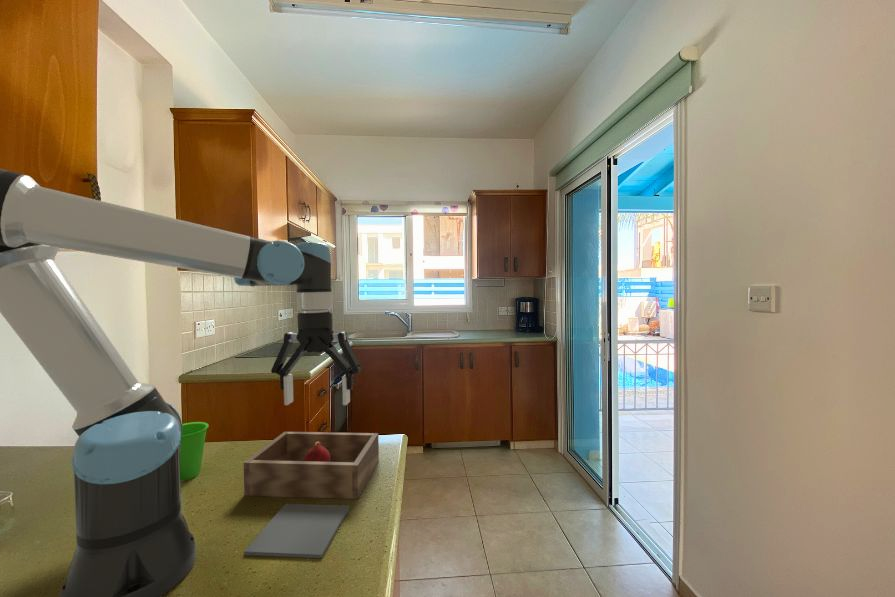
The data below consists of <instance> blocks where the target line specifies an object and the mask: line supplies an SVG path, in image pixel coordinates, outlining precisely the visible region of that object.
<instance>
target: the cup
mask: <svg viewBox="0 0 895 597" xmlns="http://www.w3.org/2000/svg"><path fill="white" fill-rule="evenodd" d="M209 427H210V426H209V424H208V422H203V421H192V422H187V423H182V435H181V443H180V482H184V481H188V480H192V479H194V478H195V477H197V476H198V475H199V474H200V472H201V468H202V460H203V454H204V448H205V442H206V436H207V435H206V434H207V429H208V428H209Z"/></svg>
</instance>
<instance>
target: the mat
mask: <svg viewBox="0 0 895 597" xmlns="http://www.w3.org/2000/svg"><path fill="white" fill-rule="evenodd" d="M349 510H350V505H341V504H340V505H337V504H335V505H334V504H308V503H307V504H305V503H285V504H284V505H283V506H282V507H281V508H280V509H279V510H278V511H277V513H275V515H274V516H273V517H272V518H271V520H270V521H269V522H268V523H267V524H266V525H265V526H264V528H263V529H262V530H261V531H260V532H259V533H258V535H257V536H256V537H255V538H254V539H253V540H252V541H251V543H250V544H249V545H248V546H247V547H246V549H245V550H244V551H243V555H244V556H257V557H259V556H260V557H278V558H279V557H282V558H284V557H285V558H286V557H287V558H305V559H306V558H310V559H322V558H323V557H324V555H325V554H326V552H327V550H328V548H329V546H330V545H331V543H332V541H333V539H334V537H335V535H336V534H337V532H338V530H339V528H340V526H341V524H342V523H343V521H344V519H345V518H346V516H347V514H348V513H349Z"/></svg>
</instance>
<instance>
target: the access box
mask: <svg viewBox="0 0 895 597" xmlns="http://www.w3.org/2000/svg"><path fill="white" fill-rule="evenodd" d="M316 442H320V443H321V444H320V445H321V446H323V447H325V448H326V449H327V450H328V451H329V453H330V459H331V461H330V462H315V461H304V458H305V455H306V454H307V452H308V451H309V450H310V449H311V448H312V447H314V445H315V443H316ZM379 448H380V447H379V433H378V432H375V433H374V432H371V433H370V432H327V431H326V432H321V431H317V432H316V431H283V432H282V433H281V434H279V435H278V436H277V437H275V438H274V439H272V441H271V442H269V443H268V444H266V445H265V446H263V447H262V448H261V449H259V450H258V451H257V452H255V453H254V454H253V455H252V456H250V457H249V458H248V459H247V460H245V461H244V462H243V492H244V494H243V495H244V496H248V497H250V496H251V497H279V498H280V497H281V498H283V497H284V498H309V499H313V498H314V499H315V498H317V499H347V500H349V499H351V500H359V498H360V497H361V495H362V493H363V491H364V489H365V488H366V485H367V484H368V482H369V480H370V478H371V477H372V475H373V472H374V470H375V469H376V466H377V465H378V463H379V460H380V457H379V454H380V452H379V451H380V450H379Z"/></svg>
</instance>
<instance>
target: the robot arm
mask: <svg viewBox="0 0 895 597" xmlns="http://www.w3.org/2000/svg"><path fill="white" fill-rule="evenodd" d="M60 249H66V250H73V251H77V252H85V253H89V254H94V255H95V254H96V255H100V256H108V257H112V258H113V257H114V258H120V259H123V260H124V259H126V260H130V261H132V260H133V261H137V262H141V263H142V262H143V263H149V264H154V265H155V264H156V265H161V266H166V267H171V268H177V269H178V268H179V269H184V270H190V271H197V272H200V273H201V272H203V273H207V274H212V275H213V274H214V275H218V276H219V275H220V276H225V277H230V278H231V277H232V278H233V280H234V283H235V284H236V285H238V286H241V287H242V286H244V287H247V286H248V287H252V288H253V287H254V288H255V287H266V286H268V287H271V286H273V287H274V286H295V287H296V310H298V311H299V312H298V313H297V314H296V318H297V320H296V322H297V333H295V332H293V331H290V332H286V333H285V334H283V343H282V345H281V347H280V349H279V352H278V353H277V356H276V359H275V361H274V363H273V366H272V367H271V371H270V372H271V374H277V376H279V381H280V382H279V383H280V384H279V385H280V387H279V388H280V390H281V391H282V390H283V400H284V401H283V402H284V403H283V404H284V406H289V405H290V404H291V403H293V402H294V376H293V375H294V374H293V373H291V371H292V369H293V368H294V367H295V366H296V364H297V363H298V362H299V361H300V360H301V358H302V357H303V356H304V354H305V353H313V352H315V353H323V352H324V353H325V354H326V355H328V356H329V358H331V360H332V361H333V363H335V365H337V366H338V368H339V369H340V370H341V371H342V372H343V373H344V375H343V376H341V383H342V384H341V386H342V387H341V388H342V406H347V405H349V403H350V402H351V390H352V389H354V380H355V379H354V374H355V375H356V374H357V373H359V372H360V371H361V370H362V365H361V364H360V362H359V360H358V358H357V356H356V355H355V352H354V351H353V349H352V346H351V345H350V343H349V341H348V340H349V339H348V335H347V332H346V330H345V331H344V330H343V331H341V332H336V333H334V330H333V326H334V324H333V312H332V311H330V310H332V308H333V301H332V300H333V298H332V297H333V295H332V294H333V293H332V259H331V258H332V257H331V249H330V246H328V244H326V243H322V242H315V241H313V242H311V241H309V242H307V241H306V242H302V241H301V242H298V243H296V244H293V243H292V242H290V241H289V242H288V241H284V240H273V241H270V240H266V239H262V238H258V237H254V236H252V237H251V236H250V235H245V234H241V233H237V232H233V231H228V230H225V229H220V228H215V227H212V226H208V225H204V224H203V225H202V224H199V223H195V222H191V221H187V220H182V219H178V218H174V217H169V216H165V215H161V214H158V213H153V212H149V211H144V210H141V209H136V208H133V207H127V206H123V205H119V204H115V203H111V202H107V201H102V200H99V199H94V198H89V197H86V196H80V195H77V194H73V193H68V192H65V191H61V190H56V189H52V188H47V187H44V186H43V187H42V186H40V184H39V183H37V182H36V180H34V178H33V177H31V176H30V175H26V174H23V173H19V172H15V171H11V170H7V169H3V168H0V314H1V315H2V317H3V318H4V320H5V321H6V322H7V323H8V325H10V327H11V329H12V330H13V331H14V332H15V334H16V335H17V336H18V337H19V339H20V341H22V342H23V344H24V346H25V347H26V348H27V349H28V351H29V352H30V353H31V354H32V356H33V357H34V358H35V359H36V361H37V362H38V363H39V364H38V365H40V366H41V368H42V369H43V370H44V372H45V373H46V374H47V375H48V377H49V378H50V380H52V382H53V384H55V386H56V387H57V388H58V389H59V391H60V392H61V394H62V395H63V396H64V398H65V399H66V400H67V401H68V403H69V404H70V405H71V407H72V408H73V409H74V411H75V412H76V417H75V420H74V421H73V424H72V426H71V429H73V431H74V432H75V433H76V435H77V436H78V438H77V439H76V441H75V444H74V448H73V450H74V451H73V454H72V457H71V467H72V471H73V475H74V476H73V478H74V479H73V481H74V505H75V532H76V533H75V534H76V535H75V536H76V538H75V539H76V548H75V551H74V553H73V556H72V560H71V562H70V565H69V566H70V567H69V570H68V575H67V577H66V579H65V580H64V582H63V583H62V586H61V589H60V591H59V597H163V596H164V595H165V594H166V593H168V592H170V591H171V590H172V589H173V588H175V587H176V586H177V585H178V584H179V583H180V582H181V581H183V579H185V577H186V576H187V575H188V574H189V572H190V571H191V569H193V566H194V565H195V561H196V558H197V550H196V548H197V547H196V539H195V537H194V535H193V534H192V533H191V531H190V529H189V526H188V523H187V520H186V519H185V516H184V514H183V512H182V502H181V500H182V499H181V498H182V494H181V493H182V492H181V487H182V486H181V481H180V443H181V435H182V424H183V423H182V421H183V420H182V418H181V416H180V413H179V412H178V410H177V409H176V408H175V407H173V406H172V404H170V403H168V402H166V401H165V399H164V398H163V396H162V395H161V394H160V392H159V390H158V389H157V388H156V387H155V385H154V384H150V383H143V382H140V381H139V380H138V379H137V378H136V376H135V375H134V373H133V372H132V371H131V369H130V367H129V366H128V365H127V363H126V362H125V360H124V358H122V355H120V353H119V352H118V350H117V349H116V347H115V346H114V344H113V343H112V342H111V340H110V338H109V337H108V335H107V334H106V333H105V331H104V330H103V328H102V327H101V326H100V324H99V322H98V321H97V320H96V318H95V317H94V316H93V313H91V310H90V309H89V308H88V307H87V305H86V304H85V302H84V301H83V299H82V298H81V297H80V295H79V294H78V292H77V291H76V289H75V288H74V286H73V285H72V284H71V282H70V281H69V280H68V278H67V276H66V274H65V273H64V272H63V271H62V269H61V268H60V266H59V265H58V263H57V262H56V261H55V260H56V256H57V254H58V253H59V250H60ZM333 340H335V341H336V342H337V343H338V344H339V346H340V349H341V351H342V353H343V355H344V356H345V358H344V357H343V355H342V354H341V353H340V352H339V351H338V350H337V348H336V346H335V345H334V343H333ZM296 341H298V343H299V345H298V347H297V348H296V349H295V351H294V353H293V354H292V355H291V356H290V358H288V357H289V353H290V352H291V349H292V347H293V345H294V343H295V342H296ZM287 359H288V360H287ZM286 361H287V362H286Z"/></svg>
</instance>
